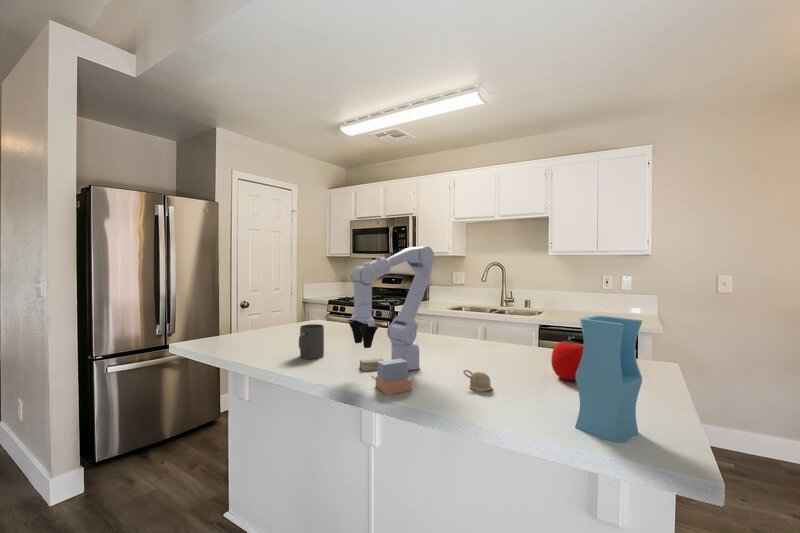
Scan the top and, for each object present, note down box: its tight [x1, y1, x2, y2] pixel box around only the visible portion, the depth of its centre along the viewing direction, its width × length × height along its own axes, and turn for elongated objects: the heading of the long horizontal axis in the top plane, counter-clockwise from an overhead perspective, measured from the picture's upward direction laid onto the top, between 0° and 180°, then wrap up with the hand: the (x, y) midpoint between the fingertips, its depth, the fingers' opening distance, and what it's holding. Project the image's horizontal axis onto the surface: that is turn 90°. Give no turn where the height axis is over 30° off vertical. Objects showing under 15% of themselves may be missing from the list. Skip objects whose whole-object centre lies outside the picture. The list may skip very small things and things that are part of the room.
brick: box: [359, 357, 385, 372], centre depth 133 cm, size 4×8×3 cm, turn 109°
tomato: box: [550, 339, 584, 382], centre depth 121 cm, size 12×12×13 cm
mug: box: [298, 323, 325, 360], centre depth 147 cm, size 14×9×12 cm
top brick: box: [376, 359, 409, 382], centre depth 112 cm, size 8×4×5 cm, turn 118°
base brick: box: [375, 376, 413, 395], centre depth 112 cm, size 8×8×3 cm
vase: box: [574, 315, 643, 444], centre depth 85 cm, size 10×10×25 cm
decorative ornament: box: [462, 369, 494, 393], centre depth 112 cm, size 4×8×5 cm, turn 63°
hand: (362, 345), depth 123 cm, fingers open, 7 cm apart
